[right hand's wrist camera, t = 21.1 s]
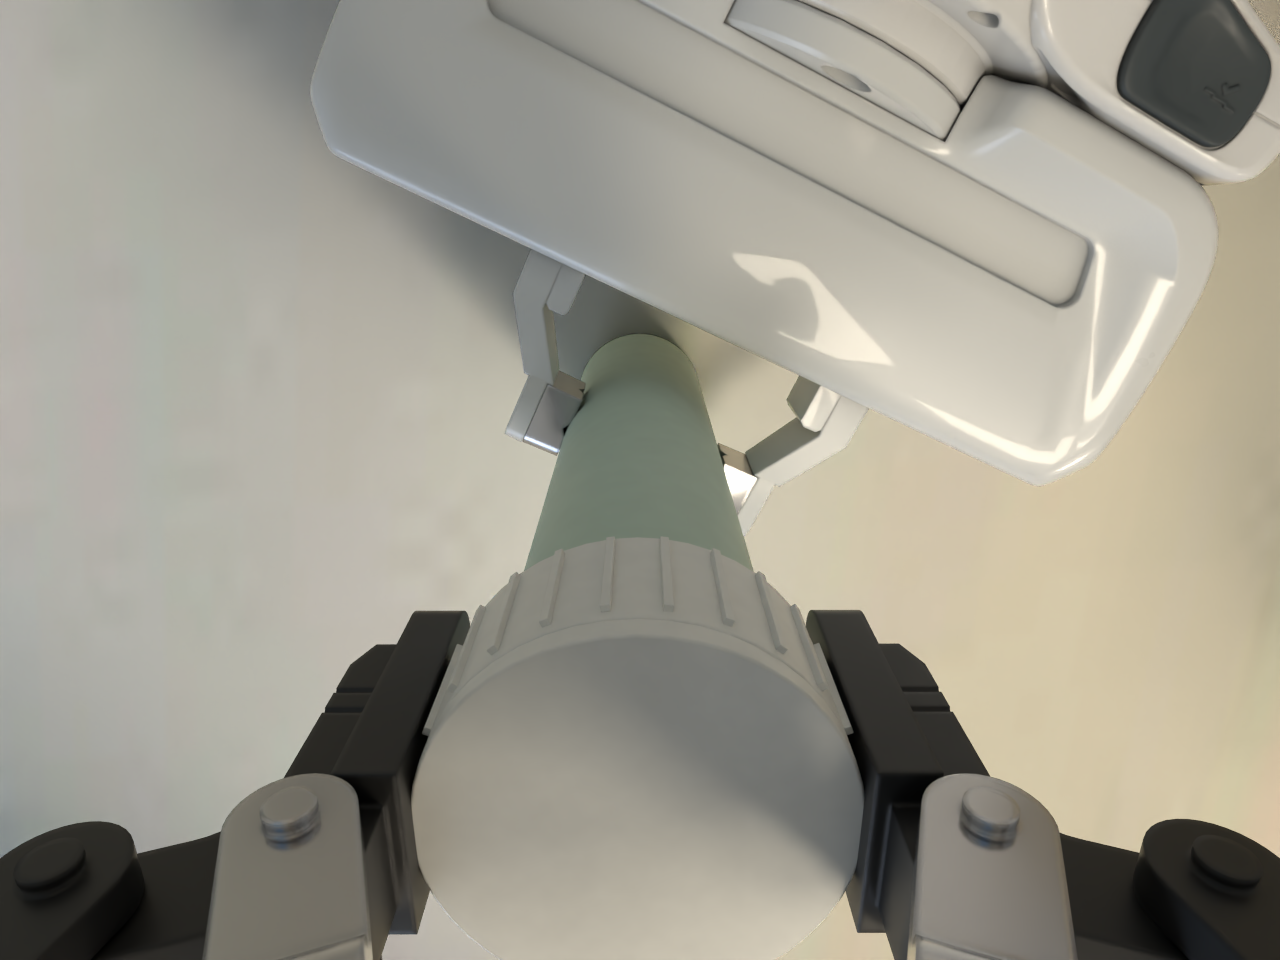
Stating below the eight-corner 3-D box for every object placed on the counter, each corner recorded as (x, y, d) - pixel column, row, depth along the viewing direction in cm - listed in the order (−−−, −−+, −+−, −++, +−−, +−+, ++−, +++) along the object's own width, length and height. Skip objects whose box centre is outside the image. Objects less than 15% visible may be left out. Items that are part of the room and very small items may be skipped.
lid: (903, 701, 11) (969, 833, 9) (639, 904, 13) (639, 1063, 10) (637, 451, 10) (635, 530, 8) (373, 703, 11) (307, 835, 9)
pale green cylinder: (593, 459, 28) (513, 936, 10) (568, 345, 27) (427, 672, 9) (707, 439, 28) (826, 891, 10) (688, 323, 27) (786, 612, 9)
